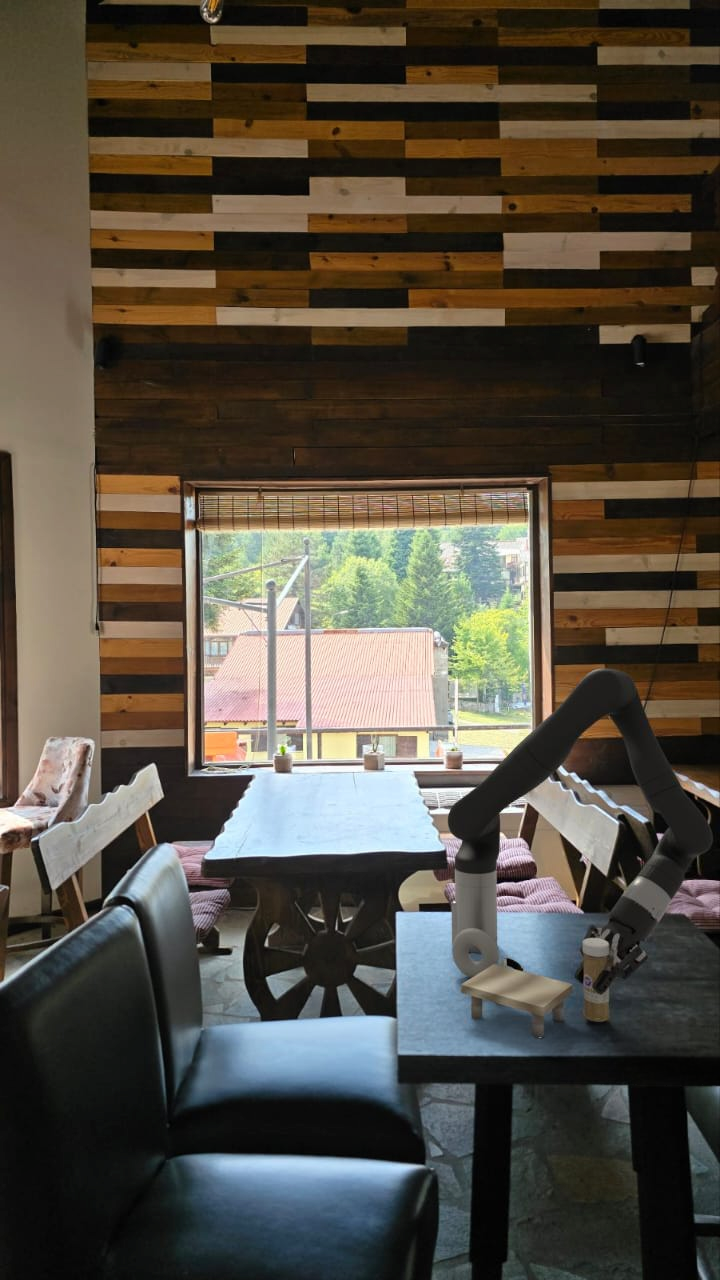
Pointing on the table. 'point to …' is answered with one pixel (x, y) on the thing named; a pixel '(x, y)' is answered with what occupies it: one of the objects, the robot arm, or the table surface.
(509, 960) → the watch
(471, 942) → the donut
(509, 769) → the robot arm
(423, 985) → the table surface
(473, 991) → the small wooden stool
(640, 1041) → the table surface
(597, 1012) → the sprinkles bottle
